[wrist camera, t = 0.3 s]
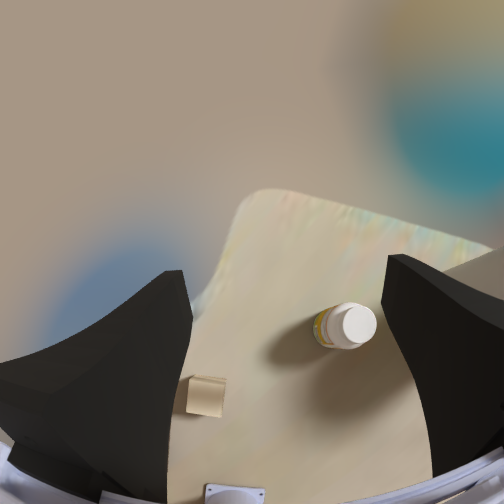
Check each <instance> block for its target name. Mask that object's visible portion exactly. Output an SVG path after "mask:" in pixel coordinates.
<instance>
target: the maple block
mask: <svg viewBox="0 0 504 504" xmlns="http://www.w3.org/2000/svg"><path fill="white" fill-rule="evenodd" d="M225 385H226V379H223V378H216V377H209V376H202V375H196V374H195V375H194V376H193V377H192V378H191V379H189V388H188V397H187V406H186V412H188V413H194V414H200V415H206V416H213V417H220V418H221V415H222V410H223V402H224V394H225Z"/></svg>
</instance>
